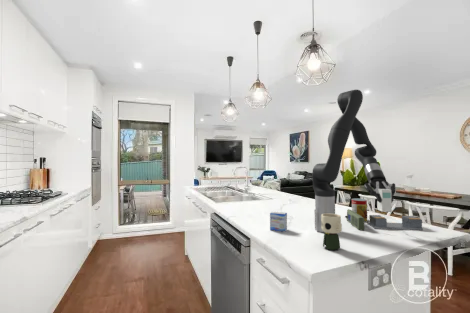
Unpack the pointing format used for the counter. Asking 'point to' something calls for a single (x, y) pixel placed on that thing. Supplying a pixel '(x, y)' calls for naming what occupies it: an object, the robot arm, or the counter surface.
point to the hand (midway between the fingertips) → (386, 201)
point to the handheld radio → (355, 219)
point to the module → (385, 201)
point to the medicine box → (278, 221)
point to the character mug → (331, 230)
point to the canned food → (360, 207)
